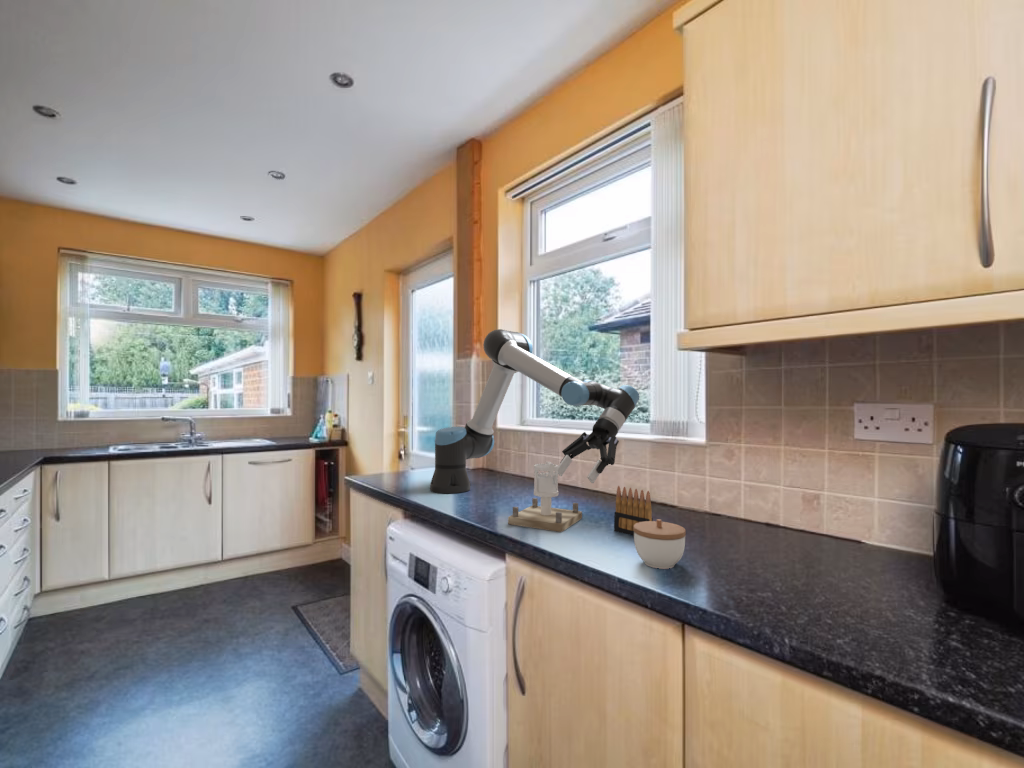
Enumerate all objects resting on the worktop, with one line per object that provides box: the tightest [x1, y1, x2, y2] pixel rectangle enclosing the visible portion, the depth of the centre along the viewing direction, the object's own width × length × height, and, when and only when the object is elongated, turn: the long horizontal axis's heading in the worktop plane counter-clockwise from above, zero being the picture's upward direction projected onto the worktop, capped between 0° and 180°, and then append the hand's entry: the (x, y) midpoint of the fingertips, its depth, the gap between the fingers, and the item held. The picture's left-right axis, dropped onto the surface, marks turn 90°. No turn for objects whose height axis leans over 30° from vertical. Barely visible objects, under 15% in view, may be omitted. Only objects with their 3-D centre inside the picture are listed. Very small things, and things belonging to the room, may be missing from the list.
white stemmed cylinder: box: [533, 461, 559, 515], centre depth 135 cm, size 7×7×15 cm
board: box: [507, 497, 583, 533], centre depth 135 cm, size 16×16×4 cm
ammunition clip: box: [613, 485, 654, 537], centre depth 122 cm, size 11×2×12 cm, turn 43°
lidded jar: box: [633, 518, 687, 570], centre depth 101 cm, size 11×11×9 cm
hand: (573, 476), depth 141 cm, fingers open, 13 cm apart
